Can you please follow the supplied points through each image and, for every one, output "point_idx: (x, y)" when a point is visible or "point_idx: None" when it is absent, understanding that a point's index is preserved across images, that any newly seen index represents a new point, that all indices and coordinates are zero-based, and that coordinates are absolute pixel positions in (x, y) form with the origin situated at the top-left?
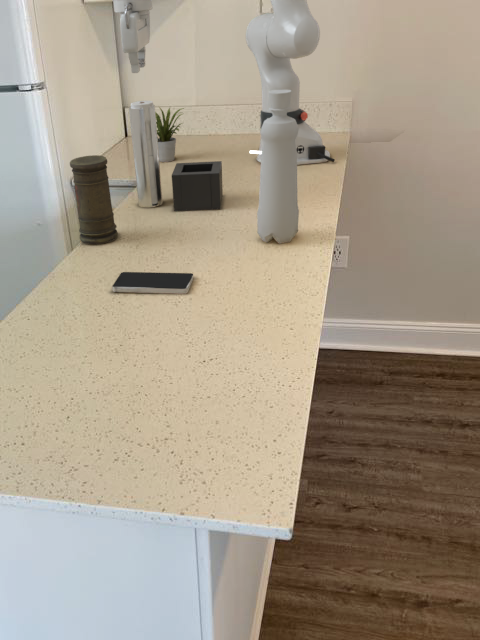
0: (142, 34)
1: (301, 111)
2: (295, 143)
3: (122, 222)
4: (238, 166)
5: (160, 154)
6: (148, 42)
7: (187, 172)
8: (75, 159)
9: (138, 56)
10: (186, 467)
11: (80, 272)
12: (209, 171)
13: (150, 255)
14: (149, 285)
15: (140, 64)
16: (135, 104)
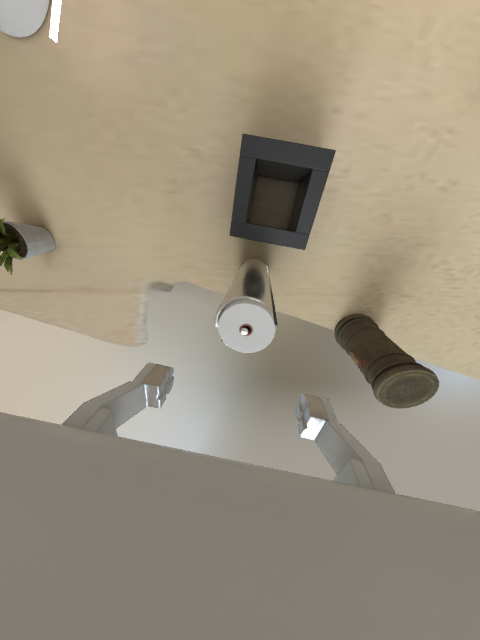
0: (258, 600)
1: None
2: None
3: (311, 307)
4: (68, 98)
5: (45, 249)
6: (6, 417)
7: (300, 219)
8: (391, 403)
9: (136, 410)
10: None
11: (442, 347)
12: (313, 172)
13: (444, 283)
14: None
15: (167, 384)
16: (263, 344)
